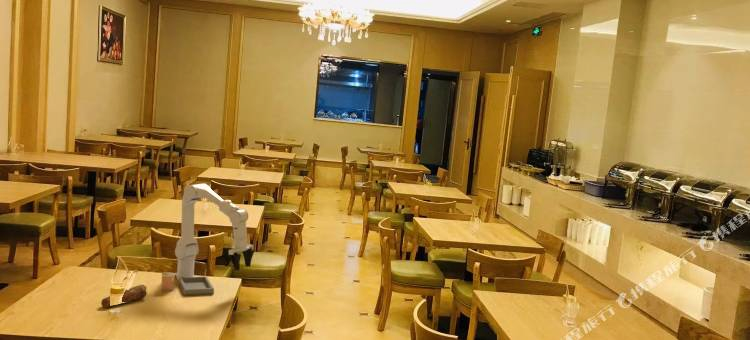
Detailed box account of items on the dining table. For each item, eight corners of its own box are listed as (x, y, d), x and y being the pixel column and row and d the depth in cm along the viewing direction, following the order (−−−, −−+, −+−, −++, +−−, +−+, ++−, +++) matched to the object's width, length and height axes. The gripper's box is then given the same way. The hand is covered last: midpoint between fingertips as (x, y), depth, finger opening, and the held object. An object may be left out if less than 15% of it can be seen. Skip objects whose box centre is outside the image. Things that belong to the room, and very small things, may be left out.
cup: (159, 288, 273) (160, 272, 272) (172, 287, 275) (173, 271, 275) (161, 291, 268) (162, 275, 268) (174, 291, 271) (175, 275, 270)
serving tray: (178, 282, 283) (179, 277, 282) (206, 281, 288) (206, 276, 287) (184, 295, 266) (185, 289, 266) (213, 294, 271) (214, 288, 271)
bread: (147, 299, 259) (148, 286, 258) (106, 310, 242) (107, 296, 242) (137, 295, 262) (138, 282, 261) (96, 306, 246) (96, 292, 245)
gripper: (237, 240, 268) (239, 271, 269) (257, 234, 281) (260, 265, 282) (223, 239, 271) (226, 271, 272) (245, 234, 284) (247, 264, 285)
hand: (242, 268), depth 277 cm, fingers open, 7 cm apart
